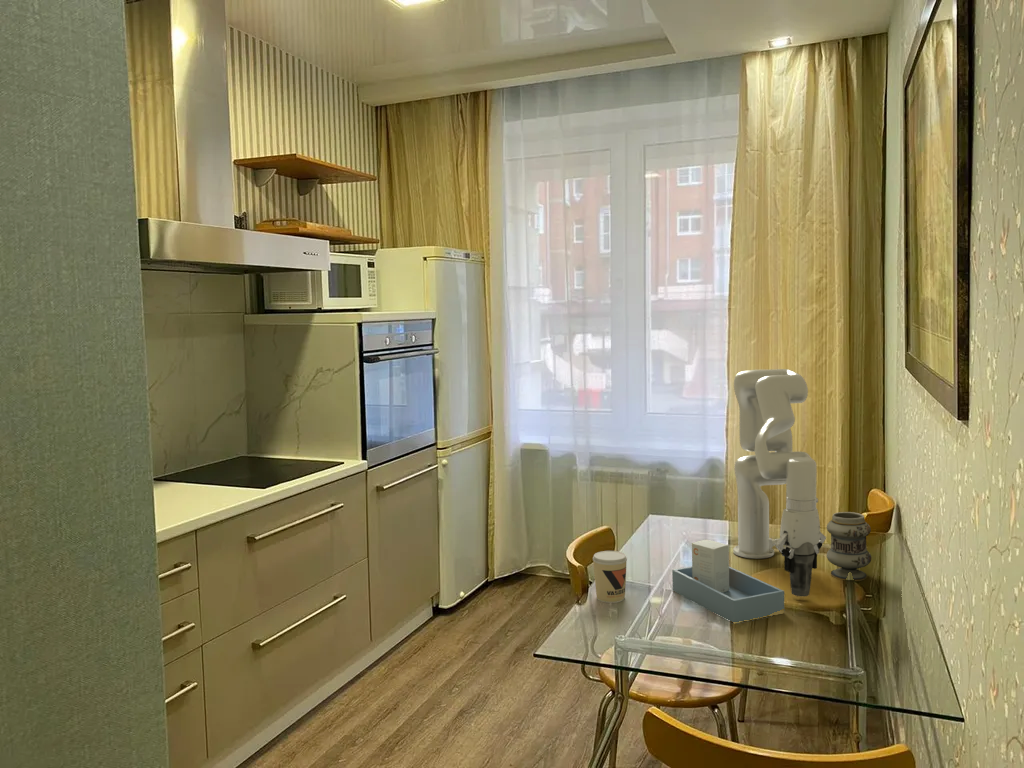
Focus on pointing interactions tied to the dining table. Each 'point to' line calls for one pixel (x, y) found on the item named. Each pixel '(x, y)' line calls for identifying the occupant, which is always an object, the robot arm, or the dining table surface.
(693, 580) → the tray
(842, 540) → the apothecary jar
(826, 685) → the dining table surface
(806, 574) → the beverage cup
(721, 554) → the small box
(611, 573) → the cream lidded tub
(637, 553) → the dining table surface
